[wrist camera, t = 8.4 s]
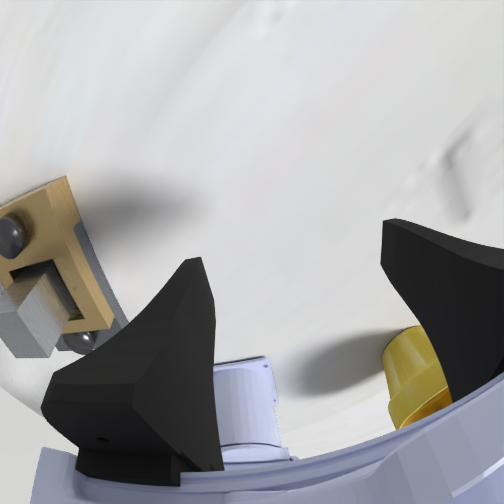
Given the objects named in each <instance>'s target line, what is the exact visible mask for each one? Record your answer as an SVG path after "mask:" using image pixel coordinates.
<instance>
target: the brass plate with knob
mask: <svg viewBox="0 0 504 504" xmlns="http://www.w3.org/2000/svg"><path fill="white" fill-rule="evenodd" d="M49 259H53V260H54V262H55V264H56V266H57V268H58V270H59V272H60V274H61V276H62V278H63V280H64V282H65V284H66V286H67V288H68V290H69V292H70V293H71V295H72V297H73V299H74V301H75V302H76V304H77V305H76V306H75V308H74V310H73V312H72V314H71V316H70V318H69V319H68V321H67V323H66V325H65V327H64V329H63V331H62V333H61V335H60V337H59V339H58V341H57V343H56V345H55V347H56V348H57V349H58V351H74V352H76V353H78V354H82V355H87V354H88V353H90V352H92V350H93V349H96V348H98V347H99V346H101V345H102V344H103V343H105V342H106V341H108V340H109V339H110V338H111V337H113V336H114V335H115V334H116V333H118V332H119V331H120V330H121V329H123V328H124V327H125V326H126V325H127V324H129V322H128V320H127V318H126V317H125V315H124V313H123V311H122V309H121V307H120V305H119V303H118V301H117V299H116V297H115V295H114V293H113V291H112V289H111V287H110V285H109V283H108V281H107V279H106V277H105V275H104V273H103V271H102V268H101V266H100V264H99V262H98V260H97V257H96V255H95V253H94V250H93V248H92V246H91V243H90V241H89V238H88V236H87V233H86V231H85V228H84V226H83V223H82V221H81V218H80V215H79V213H78V210H77V207H76V204H75V202H74V199H73V196H72V193H71V190H70V187H69V184H68V181H67V178H66V176H64V177H62V178H59V179H57V180H54V181H52V182H50V183H48V184H45V185H43V186H41V187H39V188H36V189H34V190H32V191H30V192H28V193H26V194H24V195H22V196H20V197H18V198H16V199H14V200H12V201H10V202H8V203H6V204H4V205H2V206H0V281H1V282H2V284H3V286H4V288H5V290H6V289H7V288H8V287H9V285H10V284H11V283H12V282H13V281H14V279H15V278H16V277H17V276H18V275H19V274H20V272H21V271H22V270H23V269H24V268H25V267H26V266H28V265H32V264H35V263H39V262H42V261H46V260H49Z"/></svg>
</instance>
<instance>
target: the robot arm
mask: <svg viewBox="0 0 504 504" xmlns="http://www.w3.org/2000/svg"><path fill="white" fill-rule="evenodd" d="M380 264H381V266H382V268H383V270H384V272H385V274H386V275H387V277H388V279H389V281H390V282H391V284H392V285H393V287H394V288H395V289H396V291H397V292H398V293H399V295H400V296H401V297H402V299H403V300H404V301H405V303H406V304H407V305H408V307H409V308H410V310H411V311H412V312H413V314H414V315H415V316H416V318H417V319H418V321H419V322H420V324H421V325H422V327H423V329H424V331H425V333H426V335H427V337H428V338H429V340H430V342H431V344H432V346H433V349H434V351H435V353H436V355H437V358H438V360H439V362H440V365H441V368H442V370H443V373H444V376H445V379H446V382H447V385H448V388H449V392H450V395H451V399H452V403H453V404H451V405H449V406H447V407H445V408H443V409H442V410H440V411H438V412H436V413H434V414H432V415H430V416H427V417H425V418H423V419H421V420H419V421H417V422H414V423H412V424H410V425H408V426H405V427H403V428H401V429H398V430H396V431H393V432H391V433H388V434H385V435H383V436H380V437H377V438H375V439H372V440H369V441H366V442H363V443H360V444H357V445H354V446H351V447H347V448H344V449H341V450H337V451H334V452H330V453H326V454H322V455H318V456H314V457H310V458H306V459H301V460H300V459H299V458H298V457H296V456H290V455H289V450H288V448H287V447H286V448H282V444H281V438H280V433H279V428H278V422H277V417H276V411H275V406H277V405H278V404H279V403H278V398H277V393H276V388H275V384H274V379H273V374H272V370H271V365H270V360H269V358H266V357H263V358H258V359H252V360H247V361H241V362H235V363H229V364H222V365H216V366H214V347H215V328H216V318H215V305H214V298H213V295H212V292H211V288H210V285H209V282H208V279H207V275H206V272H205V269H204V265H203V262H202V259H201V257H196V258H191V259H186V260H184V262H183V263H182V264H181V265H180V266H179V268H178V269H177V270H176V271H175V273H174V274H173V275H172V277H171V278H170V279H169V280H168V282H167V283H166V284H165V285H164V287H163V288H162V289H161V290H160V291H159V293H158V294H157V295H156V296H155V297H154V298H153V299H152V301H151V302H150V303H149V304H148V305H147V306H146V307H145V308H144V309H143V310H142V311H141V312H140V313H139V314H138V315H137V316H136V317H135V318H134V319H133V320H132V321H131V322H130V323H129V324H127V325H126V326H125V327H124V328H123V329H121V330H120V331H119V332H118V333H116V334H115V335H114V336H113V337H111V338H110V339H109V340H108V341H106V342H105V343H103V344H102V345H101V346H99V347H98V348H96V349H95V350H93V351H92V352H90V353H88V354H87V355H85V356H84V357H82V358H80V359H79V360H77V361H75V362H73V363H71V364H69V365H67V366H65V367H63V368H62V369H60V370H58V371H56V372H54V373H53V375H52V378H51V380H50V383H49V386H48V388H47V391H46V393H45V396H44V399H43V402H42V405H41V411H42V414H43V416H44V417H45V419H46V420H47V422H48V423H49V424H50V425H51V426H53V427H54V428H55V429H56V430H57V431H58V432H59V433H61V434H62V435H63V436H64V437H66V438H67V439H68V440H69V441H71V442H72V443H74V444H75V445H76V446H77V447H79V452H78V457H77V456H76V455H73V454H71V453H68V452H64V451H59V450H55V449H51V448H46V447H43V448H42V450H41V454H40V458H39V462H38V466H37V470H36V475H35V480H34V485H33V490H32V496H31V501H30V504H504V249H500V248H495V247H489V246H485V245H481V244H477V243H473V242H469V241H465V240H462V239H459V238H456V237H453V236H450V235H447V234H444V233H441V232H438V231H435V230H432V229H430V228H427V227H424V226H421V225H418V224H415V223H412V222H409V221H406V220H402V219H396V218H394V219H389V220H384V221H383V229H382V248H381V263H380Z"/></svg>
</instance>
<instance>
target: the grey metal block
mask: <svg viewBox="0 0 504 504" xmlns="http://www.w3.org/2000/svg"><path fill="white" fill-rule="evenodd" d="M76 305H77V304H76V302H75V301H74V299H73V297H72V295H71V293H70V292H69V290H68V288H67V286H66V284H65V282H64V280H63V278H62V276H61V274H60V272H59V270H58V268H57V266H56V264H55V262H54V260H53V259H49V260H46V261H42V262H39V263H35V264H32V265H28V266H26V267H25V268H24V269H23V270H22V271H21V272H20V274H19V275H18V276H17V277H16V278H15V279H14V281H13V282H12V283H11V284H10V285H9V287H8V288H7V289H6V290H5V292H4V293H3V294H2V295H1V297H0V338H1V339H2V340H3V342H4V343H5V344H6V346H7V347H8V348H9V350H10V351H11V352H12V354H13V355H14V356H15V358H50V356H51V353H52V351H53V349H54V347H55V345H56V343H57V341H58V339H59V337H60V335H61V333H62V331H63V329H64V327H65V325H66V323H67V321H68V319H69V318H70V316H71V314H72V312H73V310H74V308H75V306H76Z"/></svg>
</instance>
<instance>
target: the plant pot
mask: <svg viewBox="0 0 504 504" xmlns="http://www.w3.org/2000/svg"><path fill="white" fill-rule="evenodd" d="M382 361H383V366H384V370H385V375H386V379H387V384H388V389H389V394H390V399H391V400H390V402H389V405H388V411H389V413H390V416H391V419H392V421H393V424H394V426H395V428H396V430H398V429H401V428H403V427H405V426H408V425H410V424H412V423H414V422H417V421H419V420H421V419H423V418H425V417H427V416H430V415H432V414H434V413H436V412H438V411H440V410H442V409H443V408H445V407H447V406H449V405H451V404H453V403H452V399H451V395H450V392H449V388H448V385H447V382H446V379H445V376H444V373H443V370H442V368H441V365H440V362H439V360H438V358H437V355H436V353H435V351H434V349H433V346H432V344H431V342H430V340H429V338H428V337H427V335H426V333H425V331H424V329H423V327H422V326H414V327H411V328H408V329H406V330H404V331H403V332H401V333H400V334H398V335H397V336H396V337H395V338H394V339H393V340H392V341H391V342H390V343H389V344H388V345H387V347H386V348H385V350H384V352H383V356H382Z"/></svg>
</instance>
